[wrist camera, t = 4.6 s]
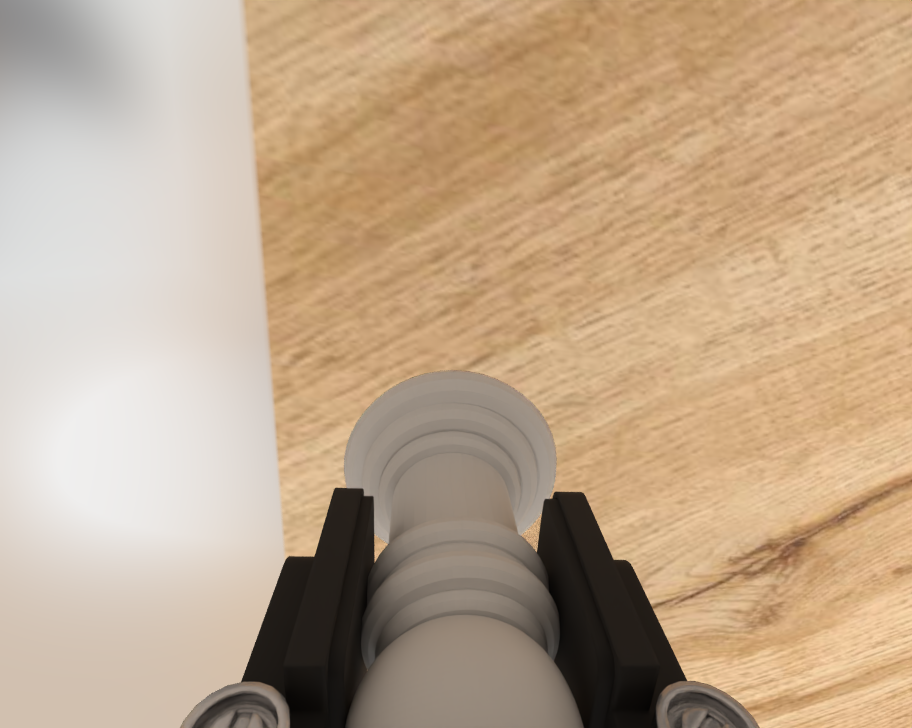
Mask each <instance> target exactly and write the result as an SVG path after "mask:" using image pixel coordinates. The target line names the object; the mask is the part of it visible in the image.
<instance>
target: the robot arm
mask: <svg viewBox="0 0 912 728" xmlns="http://www.w3.org/2000/svg"><path fill="white" fill-rule="evenodd" d="M537 554H538V555H539V557H540V558H541V560H542V562H543V564H544V566H545V568H546V572H547V575H548V580H549V593H550V594H551V596H552V598H553V600H554V602H555V604H556V606H557V610H558V613H559V619H560V640H559V646H558V651H557V654H556V656H555V659H554V663H555V664H556V665H557V667H558V668H559V670H560V672H561V673H562V675H563V676H564V678H565V680H566V682H567V684H568V686H569V688H570V690H571V692H572V694H573V697H574V699H575V702H576V704H577V707H578V710H579V713H580V716H581V719H582V723H583V727H584V728H759V726H758V724H757V723H756V721H755V719H754V718H753V717H752V715H751V714H750V713H749V712H748V711H747V710H746V709H745V708H744V707H743V706H742V705H741V704H740V703H739V702H738V701H736V700H735V699H734V698H732V697H731V696H730V695H728V694H727V693H725V692H723V691H721V690H719V689H717V688H715V687H713V686H711V685H708V684H704V683H700V682H696V681H687V679H686V677H685V675H684V673H683V671H682V669H681V667H680V665H679V663H678V661H677V659H676V656H675V654H674V652H673V650H672V648H671V646H670V644H669V642H668V640H667V638H666V636H665V634H664V632H663V629H662V627H661V625H660V623H659V621H658V619H657V617H656V615H655V613H654V611H653V609H652V607H651V604H650V602H649V600H648V598H647V596H646V594H645V592H644V590H643V588H642V586H641V584H640V582H639V580H638V577H637V575H636V573H635V571H634V569H633V567H632V566H631V564H630V563H629V562H628V561H626V560H613V558H612V555H611V553H610V551H609V548H608V546H607V544H606V542H605V539H604V537H603V535H602V533H601V530H600V528H599V526H598V524H597V521H596V519H595V517H594V515H593V512H592V510H591V508H590V506H589V503H588V501H587V499H586V496H585V495H584V493H582V492H555V493H554V495H553V499H545V500H544V503H543V509H542V517H541V525H540V533H539V541H538V549H537ZM373 565H374V497H373V496H364V490H363V488H335V489H334V492H333V495H332V499H331V502H330V506H329V509H328V513H327V516H326V519H325V523H324V526H323V530H322V533H321V537H320V540H319V543H318V547H317V550H316V554H315V557H294V556H289V557H288V558H287V559H286V561H285V563H284V565H283V568H282V570H281V573H280V576H279V579H278V581H277V584H276V587H275V590H274V593H273V595H272V598H271V601H270V604H269V607H268V609H267V612H266V615H265V617H264V621H263V623H262V626H261V629H260V631H259V634H258V637H257V640H256V642H255V645H254V648H253V651H252V653H251V656H250V659H249V662H248V664H247V667H246V670H245V673H244V676H243V678H242V681H241V683H237V684H232V685H228V686H225V687H223V688H222V689H219V690H217V691H215V692H214V693H211V694H210V695H209V696H207V697H206V698H205V699H204V700H203V701H201V702H200V703H199V704H197V705H196V706H195V707H194V709H193V710H192V711H191V712H190V713H189V715H188V716H187V717H186V718H185V720H184V721H183V723H182V725H181V727H180V728H345V725H346V720H347V716H348V713H349V709H350V706H351V703H352V701H353V698H354V695H355V693H356V691H357V689H358V686H359V685H360V683H361V681H362V679H363V677H364V675H365V674H366V672H367V668H366V666H365V663H364V660H363V656H362V650H361V631H362V617H363V615H364V612H365V610H366V608H367V586H368V576H369V574H370V571H371V569H372V567H373Z"/></svg>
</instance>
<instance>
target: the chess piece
mask: <svg viewBox="0 0 912 728" xmlns="http://www.w3.org/2000/svg"><path fill="white" fill-rule="evenodd" d="M556 461H557V457H556V448H555V443H554V439H553V436H552V433H551V431H550V428H549V426H548V424H547V422H546V420H545V419H544V417H543V416H542V414H541V413H540V411H539V410H538V409H537V408H536V407H535V406H534V404H533V403H532V402H531V401H530V400H528V399H527V398H526V397H525V396H524V395H523V394H521V393H520V392H518V391H517V390H515V389H514V388H512V387H511V386H509V385H508V384H506V383H504V382H502V381H500V380H498V379H496V378H493V377H490V376H487V375H484V374H480V373H475V372H470V371H458V370H450V371H437V372H431V373H426V374H422V375H419V376H416V377H412V378H410V379H408V380H406V381H403V382H401V383H399V384H397V385H396V386H394V387H392V388H391V389H389V390H387V391H386V392H385V393H384V394H382V395H381V396H380V397H379V398H377V399H376V400H375V401H374V402H373V403H372V404H371V405H370V406H369V407H368V408H367V409H366V410H365V412H364V413H363V414H362V416H361V417H360V418H359V420H358V421H357V423H356V425H355V427H354V429H353V430H352V432H351V435H350V437H349V440H348V443H347V447H346V452H345V457H344V474H345V482H346V486H347V488H363V490H364V496H373V497H374V534H375V535H376V536H378V537H379V538H380V539H382V540H383V541H385V542H386V543H387V544H388V546H386V548H385V549H384V550H383V551H382V553H381V554H380V555H379V557H378V558H377V560H376V562H375V563H374V565H373V567H372V569H371V571H370V574H369V576H368V586H367V608H366V610H365V612H364V615H363V617H362V631H361V650H362V656H363V660H364V663H365V666H366V668H367V672H366V674H365V675H364V677H363V679H362V681H361V683H360V685H359V686H358V689H357V691H356V693H355V695H354V698H353V701H352V703H351V706H350V709H349V713H348V716H347V720H346V725H345V728H584V727H583V723H582V719H581V716H580V713H579V710H578V707H577V704H576V702H575V699H574V697H573V694H572V692H571V690H570V688H569V686H568V684H567V682H566V680H565V678H564V676H563V675H562V673H561V672H560V670H559V668H558V667H557V665H556V664H555V663H554V659H555V656H556V654H557V651H558V646H559V640H560V619H559V613H558V610H557V606H556V604H555V602H554V600H553V598H552V596H551V594H550V593H549V580H548V575H547V572H546V568H545V566H544V564H543V562H542V560H541V558H540V557H539V555H538V554H537V553H536V551H535V550H534V549H533V547H532V546H531V545H530V544H529V543H528V542H527V541H526V540H525V539H524V538H523V537H522V536H521V535H522V534H523V533H524V532H525V531H526V530H527V529H529V528H530V526H531V525H532V524H533V523H534V522H535V521H536V520H537V519H538V517H539V516H540V514H541V513H542V509H543V503H544V500H545V499H550V496H551V493H552V490H553V487H554V482H555V477H556Z"/></svg>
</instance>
